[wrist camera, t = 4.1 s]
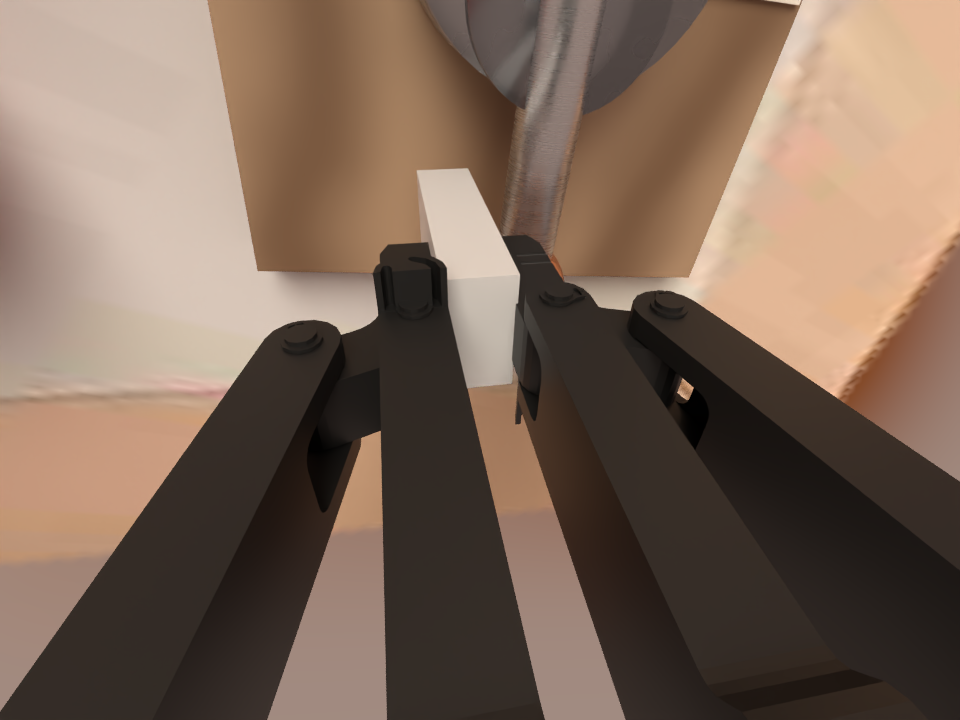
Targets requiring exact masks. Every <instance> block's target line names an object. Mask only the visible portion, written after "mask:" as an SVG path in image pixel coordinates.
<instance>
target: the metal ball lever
mask: <svg viewBox="0 0 960 720" xmlns="http://www.w3.org/2000/svg"><path fill="white" fill-rule="evenodd" d="M707 1H708V0H420V2H421V4H422V6H423V8H424V10H425V12H426V13H427V15H428V16H429V18H430V20H431V21H432V23H433V24H434V26H435V28H436V29H437V30H438V31H439V33H440V34H441V35H442V36H443V37H444V39H445V40H446V41H447V42H448V43H449V44H450V45H451V46H452V47H453V48H454V49H455V50H456V51H457V52H458V53H459V54H460V55H461V56H462V57H463V58H464V59H466V60H467V61H468V62H469V63H470V64H471V65H472V66H473V67H474V68H475V69H477V70H478V71H479V72H480V73H482V74H483V75H484V76H486V77H487V78H488V79H489V80H490V81H491V83H492V84H493V85H494V86H495V87H496V88H497V89H498V90H499V91H500V92H501V93H502V94H503V95H504V96H505V97H506V98H507V99H508V100H509V101H511V102H512V103H514V104H515V105H516V112H515V119H514V127H513V134H512V141H511V148H510V155H509V163H508V170H507V177H506V184H505V191H504V199H503V206H502V213H501V220H500V228H499V233H500V235H501V236H514V235H528V236H529V237H531V238H533V239H534V240H536V241H538V242H539V243H540V244H541V246H542V247H543V249H544V251H545V252H546V255H548V257H549V259H550V260H551V263H553V265H554V267H555V268H556V270H557V271H558V273H559V275H560V276H561V278H562V279H563V281H564V277H563V272H562V268H561V266H560V264H559V262H558V260H557V258H556V257H555V255H554V254H553V250H554V246H555V241H556V236H557V232H558V227H559V222H560V218H561V213H562V208H563V204H564V199H565V194H566V190H567V185H568V180H569V176H570V171H571V166H572V162H573V157H574V153H575V148H576V143H577V139H578V134H579V129H580V125H581V120H582V115H585V114H588V113H590V112H593V111H595V110H597V109H600V108H601V107H603V106H605V105H606V104H608V103H610V102H611V101H613V100H614V99H615V98H617V97H618V96H619V95H621V94H622V93H623V92H624V91H625V90H626V89H627V88H628V87H629V86H630V85H631V84H632V83H633V82H634V81H635V80H636V79H637V77H638V76H639V75H641V74H642V73H643V72H645V71H646V70H647V69H649V68H650V67H651V66H652V65H654V64H655V63H656V62H658V61H659V60H660V59H661V58H662V57H663V56H664V55H665V54H666V53H667V52H668V51H669V50H670V49H671V48H672V47H673V46H674V45H675V44H676V43H677V42H678V41H679V39H680V38H681V37H682V36H683V35H684V34H685V32H686V31H687V30H688V29H689V28H690V26H691V25H692V23H693V22H694V21H695V19H696V18H697V16H698V15H699V14H700V12H701V11H702V9H703V8H704V6H705V5H706V3H707Z"/></svg>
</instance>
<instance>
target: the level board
mask: <svg viewBox="0 0 960 720" xmlns="http://www.w3.org/2000/svg"><path fill="white" fill-rule="evenodd" d="M801 3H802V0H708V1H707V3H706V5H705V6H704V8H703V9H702V11H701V12H700V14H699V15H698V16H697V18H696V19H695V21H694V22H693V23H692V25H691V26H690V28H689V29H688V30H687V31H686V32H685V34H684V35H683V36H682V37H681V38H680V39H679V41H678V42H677V43H676V44H675V45H674V46H673V47H672V48H671V49H670V50H669V51H668V52H667V53H666V54H665V55H664V56H663V57H662V58H661V59H660V60H659V61H658V62H656V63H655V64H654V65H652V66H651V67H650V68H649V69H647V70H646V71H645V72H643V73H642V74H641V75H639V76H638V77H637V79H636V80H635V81H634V82H633V83H632V84H631V85H630V86H629V87H628V88H627V89H626V90H625V91H624V92H623V93H622V94H621V95H619V96H618V97H617V98H615V99H614V100H613V101H611V102H610V103H608V104H606V105H605V106H603V107H601V108H600V109H597V110H595V111H593V112H590V113H588V114H585V115H582V120H581V125H580V129H579V134H578V139H577V143H576V148H575V153H574V157H573V162H572V166H571V171H570V176H569V180H568V185H567V190H566V194H565V199H564V204H563V208H562V213H561V218H560V222H559V227H558V232H557V236H556V241H555V246H554V250H553V254H554V255H555V257H556V258H557V260H558V262H559V264H560V266H561V268H562V272H563V276H626V277H689V275H690V273H691V270H692V268H693V266H694V263H695V261H696V258H697V256H698V253H699V251H700V249H701V246H702V244H703V241H704V239H705V236H706V234H707V231H708V229H709V227H710V224H711V222H712V219H713V217H714V214H715V212H716V210H717V207H718V205H719V202H720V200H721V197H722V195H723V193H724V190H725V188H726V185H727V183H728V180H729V178H730V175H731V173H732V171H733V168H734V166H735V163H736V161H737V158H738V156H739V154H740V151H741V149H742V146H743V144H744V141H745V139H746V136H747V134H748V132H749V129H750V127H751V124H752V122H753V119H754V117H755V115H756V112H757V110H758V107H759V105H760V102H761V100H762V98H763V95H764V93H765V90H766V88H767V85H768V83H769V80H770V78H771V76H772V73H773V71H774V68H775V66H776V63H777V61H778V59H779V56H780V54H781V51H782V49H783V46H784V44H785V41H786V39H787V37H788V34H789V32H790V29H791V27H792V24H793V22H794V20H795V17H796V15H797V12H798V10H799V7H800V5H801ZM208 5H209V10H210V16H211V21H212V27H213V32H214V37H215V43H216V48H217V54H218V59H219V64H220V70H221V75H222V81H223V86H224V91H225V97H226V102H227V108H228V113H229V118H230V124H231V129H232V135H233V140H234V145H235V151H236V156H237V162H238V167H239V172H240V178H241V183H242V189H243V194H244V199H245V205H246V210H247V216H248V221H249V226H250V232H251V237H252V243H253V248H254V253H255V259H256V264H257V269H258V271H291V272H358V273H373V272H374V269H375V267H376V266H377V265H378V264H379V263H380V253H381V252H382V251H383V250H384V249H385V247H386V246H387V245H388V244H405V243H421V231H420V216H419V200H418V184H417V170H436V169H463V168H468V170H469V172H470V174H471V176H472V178H473V180H474V182H475V184H476V186H477V188H478V190H479V192H480V194H481V196H482V198H483V200H484V202H485V204H486V206H487V208H488V210H489V212H490V214H491V216H492V219H493V221H494V223H495V225H496V227H497V229H498V231H499V228H500V220H501V213H502V206H503V199H504V191H505V184H506V177H507V170H508V163H509V155H510V148H511V141H512V134H513V127H514V119H515V112H516V105H515V104H514V103H512V102H511V101H509V100H508V99H507V98H506V97H505V96H504V95H503V94H502V93H501V92H500V91H499V90H498V89H497V88H496V87H495V86H494V85H493V84H492V83H491V81H490V80H489V79H488V78H487V77H486V76H484V75H483V74H482V73H480V72H479V71H478V70H477V69H475V68H474V67H473V66H472V65H471V64H470V63H469V62H468V61H467V60H466V59H464V58H463V57H462V56H461V55H460V54H459V53H458V52H457V51H456V50H455V49H454V48H453V47H452V46H451V45H450V44H449V43H448V42H447V41H446V40H445V39H444V37H443V36H442V35H441V34H440V33H439V31H438V30H437V29H436V28H435V26H434V24H433V23H432V21H431V20H430V18H429V16H428V15H427V13H426V12H425V10H424V8H423V6H422V4H421V2H420V0H208Z"/></svg>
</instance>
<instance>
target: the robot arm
mask: <svg viewBox="0 0 960 720" xmlns="http://www.w3.org/2000/svg"><path fill="white" fill-rule="evenodd" d="M417 184H418V200H419V216H420V231H421V243H405V244H388V245H387V246H386V247H385V249H384V250H383V251H382V252H381V253H380V263H379V264H378V265H377V266H376V267H375V269H374V272H373V276H374V284H375V291H376V299H377V306H378V317H377V318H376V319H375V320H374V321H373V322H372V323H370V324H369V325H367V326H365V327H363V328H361V329H359V330H356V331H353V332H350V333H346V334H343V335H341V334H340V332H339V330H338V329H337V327H335V326H333V325H331V324H330V323H328V322H323V321H317V320H308V321H297V322H293V323H290V324H287V325H284V326H282V327H280V328H278V329H276V330H274V331H273V332H272V333H271V334H270V335H269V336H268V337H266V338H265V339H264V341H263V342H262V344H261V345H260V346H259V348H258V349H257V351H256V352H255V354H254V355H253V356H252V358H251V359H250V361H249V362H248V363H247V365H246V366H245V368H244V369H243V370H242V372H241V373H240V375H239V376H238V377H237V379H236V380H235V382H234V383H233V384H232V386H231V387H230V389H229V390H228V392H227V393H226V394H225V396H224V397H223V399H222V400H221V401H220V403H219V404H218V406H217V407H216V408H215V410H214V411H213V413H212V414H211V415H210V417H209V418H208V420H207V421H206V423H205V424H204V425H203V427H202V428H201V430H200V431H199V432H198V434H197V435H196V437H195V438H194V439H193V441H192V442H191V444H190V445H189V446H188V448H187V449H186V451H185V452H184V454H183V455H182V456H181V458H180V459H179V461H178V462H177V463H176V465H175V466H174V468H173V469H172V470H171V472H170V473H169V475H168V476H167V477H166V479H165V480H164V482H163V483H162V485H161V486H160V487H159V489H158V490H157V492H156V493H155V494H154V496H153V497H152V499H151V500H150V501H149V503H148V504H147V506H146V507H145V508H144V510H143V511H142V513H141V514H140V516H139V517H138V518H137V520H136V521H135V523H134V524H133V525H132V527H131V528H130V530H129V531H128V532H127V534H126V535H125V537H124V538H123V539H122V541H121V542H120V544H119V545H118V547H117V548H116V549H115V551H114V552H113V554H112V555H111V556H110V558H109V559H108V561H107V562H106V563H105V565H104V566H103V568H102V569H101V571H100V572H99V573H98V575H97V576H96V577H95V579H94V581H93V582H92V583H91V585H90V586H89V587H88V589H87V590H86V592H85V593H84V595H83V596H82V597H81V599H80V600H79V601H78V603H77V604H76V606H75V607H74V608H73V610H72V611H71V613H70V614H69V616H68V617H67V618H66V620H65V621H64V623H63V624H62V626H61V627H60V628H59V630H58V631H57V632H56V634H55V635H54V637H53V638H52V640H51V641H50V642H49V644H48V645H47V647H46V648H45V649H44V651H43V652H42V654H41V655H40V656H39V658H38V659H37V661H36V662H35V663H34V665H33V666H32V668H31V669H30V671H29V672H28V673H27V675H26V676H25V678H24V679H23V680H22V682H21V683H20V685H19V686H18V687H17V689H16V690H15V692H14V693H13V694H12V696H11V697H10V699H9V700H8V701H7V703H6V704H5V706H4V707H3V709H2V710H1V712H0V720H267V718H268V715H269V712H270V710H271V706H272V703H273V701H274V698H275V695H276V692H277V689H278V686H279V683H280V680H281V677H282V674H283V672H284V669H285V666H286V663H287V660H288V657H289V654H290V651H291V648H292V645H293V642H294V640H295V637H296V634H297V630H298V628H299V625H300V622H301V619H302V616H303V613H304V610H305V607H306V604H307V601H308V598H309V596H310V593H311V590H312V587H313V584H314V581H315V578H316V575H317V572H318V569H319V567H320V563H321V561H322V557H323V555H324V552H325V549H326V546H327V543H328V540H329V537H330V534H331V531H332V529H333V526H334V523H335V520H336V517H337V514H338V511H339V508H340V505H341V502H342V499H343V496H344V494H345V491H346V488H347V485H348V482H349V479H350V476H351V473H352V470H353V467H354V464H355V461H356V458H357V456H358V453H359V450H360V447H361V438H362V437H365V436H367V435H370V434H373V433H375V432H378V431H381V459H382V505H383V547H384V596H385V597H384V598H385V644H386V688H387V690H386V691H387V720H545V719H544V715H543V711H542V707H541V703H540V700H539V695H538V691H537V686H536V682H535V678H534V673H533V669H532V665H531V661H530V656H529V652H528V648H527V643H526V640H525V635H524V630H523V626H522V623H521V618H520V613H519V609H518V605H517V600H516V596H515V592H514V587H513V583H512V579H511V574H510V571H509V566H508V562H507V557H506V553H505V549H504V544H503V540H502V536H501V532H500V527H499V523H498V519H497V514H496V510H495V506H494V501H493V497H492V493H491V489H490V484H489V480H488V476H487V471H486V467H485V463H484V458H483V454H482V450H481V446H480V441H479V437H478V433H477V428H476V424H475V420H474V415H473V411H472V407H471V403H470V398H469V394H468V390H467V388H475V387H485V386H494V385H504V384H512V379H513V365H514V367H515V370H516V373H517V376H518V389H517V401H516V413H515V424H520V423H521V415H522V414H523V416H524V419H525V422H526V425H527V428H528V431H529V434H530V437H531V440H532V443H533V446H534V449H535V452H536V455H537V458H538V461H539V464H540V467H541V470H542V473H543V476H544V479H545V482H546V485H547V488H548V491H549V494H550V497H551V499H552V502H553V505H554V508H555V511H556V514H557V517H558V520H559V523H560V526H561V529H562V532H563V535H564V538H565V541H566V544H567V547H568V550H569V553H570V556H571V559H572V562H573V565H574V567H575V571H576V574H577V576H578V580H579V582H580V585H581V588H582V591H583V594H584V597H585V600H586V603H587V606H588V609H589V612H590V615H591V618H592V621H593V624H594V627H595V630H596V633H597V636H598V638H599V642H600V644H601V648H602V651H603V654H604V657H605V660H606V663H607V666H608V668H609V671H610V674H611V677H612V680H613V683H614V686H615V689H616V692H617V695H618V698H619V701H620V704H621V707H622V710H623V713H624V716H625V719H626V720H960V482H959V481H958V480H957V479H955V478H954V477H952V476H950V475H949V474H948V473H946V472H945V471H943V470H942V469H940V468H939V467H937V466H936V465H934V464H933V463H931V462H930V461H928V460H927V459H926V458H924V457H923V456H921V455H920V454H918V453H917V452H915V451H914V450H912V449H911V448H910V447H908V446H906V445H905V444H904V443H902V442H901V441H899V440H898V439H896V438H895V437H893V436H892V435H890V434H889V433H887V432H886V431H885V430H883V429H881V428H880V427H879V426H877V425H876V424H874V423H873V422H871V421H870V420H868V419H867V418H865V417H864V416H862V415H861V414H859V413H858V412H857V411H855V410H854V409H852V408H851V407H849V406H848V405H846V404H845V403H843V402H842V401H840V400H839V399H837V398H836V397H835V396H833V395H832V394H830V393H829V392H827V391H826V390H824V389H823V388H821V387H820V386H818V385H817V384H815V383H814V382H812V381H811V380H810V379H808V378H807V377H805V376H804V375H802V374H801V373H799V372H798V371H796V370H795V369H793V368H792V367H790V366H789V365H788V364H786V363H785V362H783V361H782V360H780V359H779V358H777V357H776V356H774V355H773V354H771V353H770V352H768V351H767V350H765V349H764V348H763V347H761V346H760V345H758V344H757V343H755V342H754V341H752V340H751V339H749V338H748V337H746V336H745V335H743V334H742V333H740V332H739V331H738V330H736V329H735V328H733V327H732V326H730V325H729V324H727V323H726V322H724V321H723V320H721V319H720V318H718V317H717V316H715V315H714V314H713V313H711V312H710V311H708V310H707V309H705V308H704V307H702V306H701V305H699V304H698V303H696V302H695V301H693V300H691V299H689V298H687V297H685V296H683V295H679V294H676V293H674V292H671V291H666V292H665V291H660V290H658V291H650V292H645V293H642V294H640V295H637V297H636V298H635V299H634V301H633V304H632V308H631V311H624V310H615V309H606V308H601V307H598V306H597V304H596V303H595V301H594V300H593V298H592V297H591V295H590V294H589V293H587V292H586V291H585V290H584V289H583V288H580V287H578V286H576V285H574V284H570V283H565V282H564V281H563V279H562V278H561V276H560V275H559V273H558V271H557V270H556V268H555V267H554V265H553V263H551V260H550V259H549V257H548V255H546V252H545V251H544V249H543V247H542V246H541V244H540V243H539V242H538V241H536V240H534V239H533V238H531V237H529V236H528V235H514V236H501V235H500V233H499V231H498V229H497V227H496V225H495V223H494V221H493V219H492V216H491V214H490V212H489V210H488V208H487V206H486V204H485V202H484V200H483V198H482V196H481V194H480V192H479V190H478V188H477V186H476V184H475V182H474V180H473V178H472V176H471V174H470V172H469V170H468V168H463V169H436V170H417ZM682 378H683V379H684V380H686V381H687V382H688V383H689V384H690V385H691V386H693V387H694V389H693V391H692V394H691V397H690V399H689V400H686V399H684V398H683V397H681V396H680V395H679V394H678V393H677V392H678V389H679V386H680V383H681V380H682Z"/></svg>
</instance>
